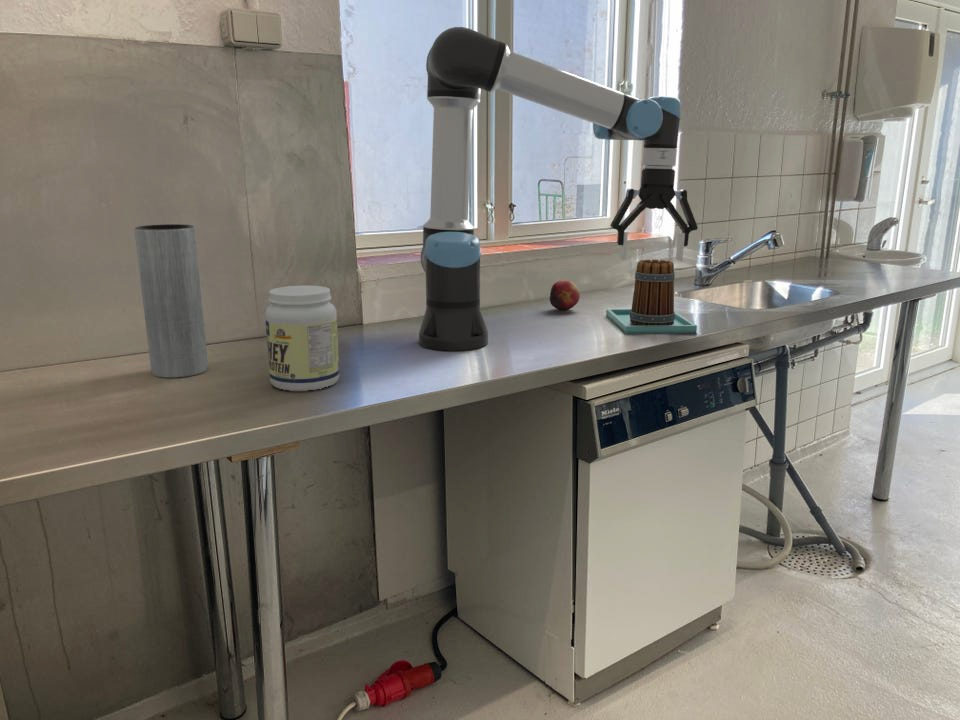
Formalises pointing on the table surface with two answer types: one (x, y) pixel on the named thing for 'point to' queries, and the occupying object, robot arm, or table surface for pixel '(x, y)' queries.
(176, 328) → the vase
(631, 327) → the tray
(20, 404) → the table surface
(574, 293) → the fruit
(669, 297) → the mug
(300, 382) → the supplement tub
